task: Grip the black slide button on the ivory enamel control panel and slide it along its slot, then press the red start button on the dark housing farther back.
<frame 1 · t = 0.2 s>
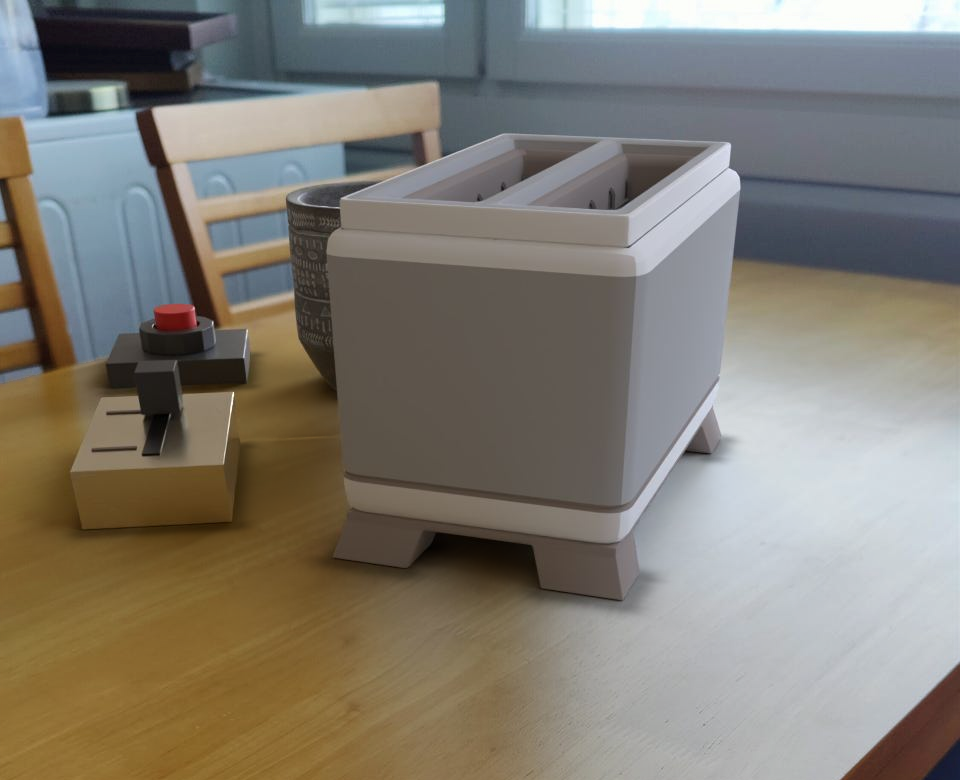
control panel: (167, 483, 89), on the table
button housing: (183, 370, 111), on the table
slider: (159, 387, 88), point 6 cm above the table, slide at 0.0 cm
start button: (175, 318, 109), point 4 cm above the table, slide at 0.1 cm
toaster: (553, 486, 88), on the table
planter: (382, 383, 108), on the table
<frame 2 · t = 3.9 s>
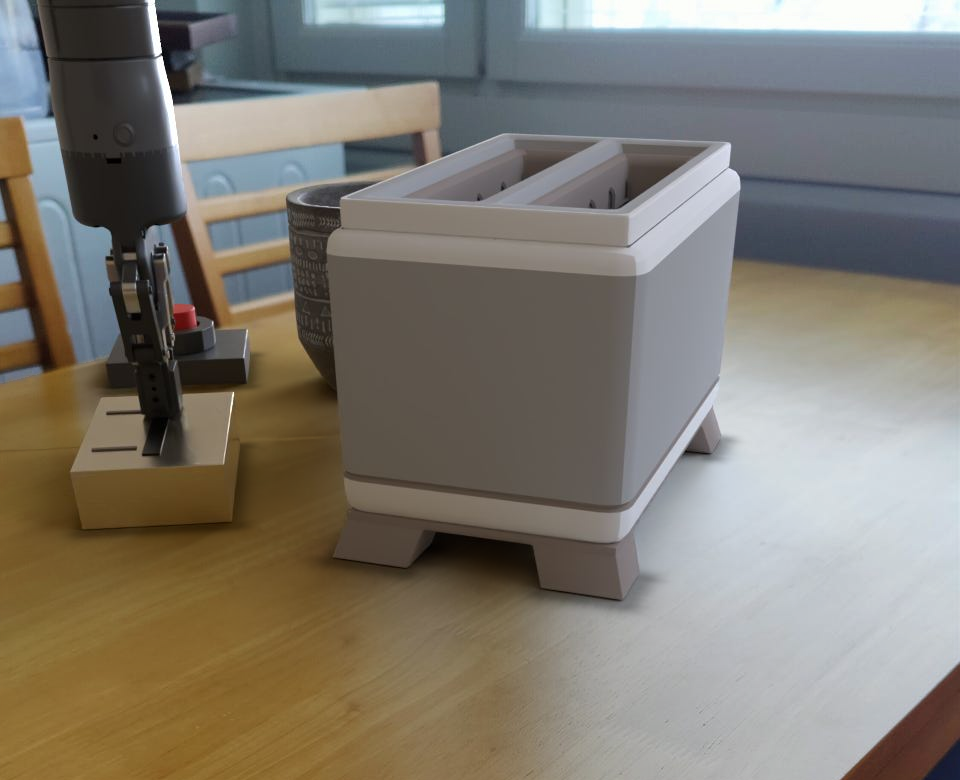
hand: (162, 407, 89), 4 cm above the table, tool pointing down, fingers closed on slider, 3 cm apart
slider: (159, 387, 88), point 6 cm above the table, slide at 0.0 cm, touching gripper
everything else where it was.
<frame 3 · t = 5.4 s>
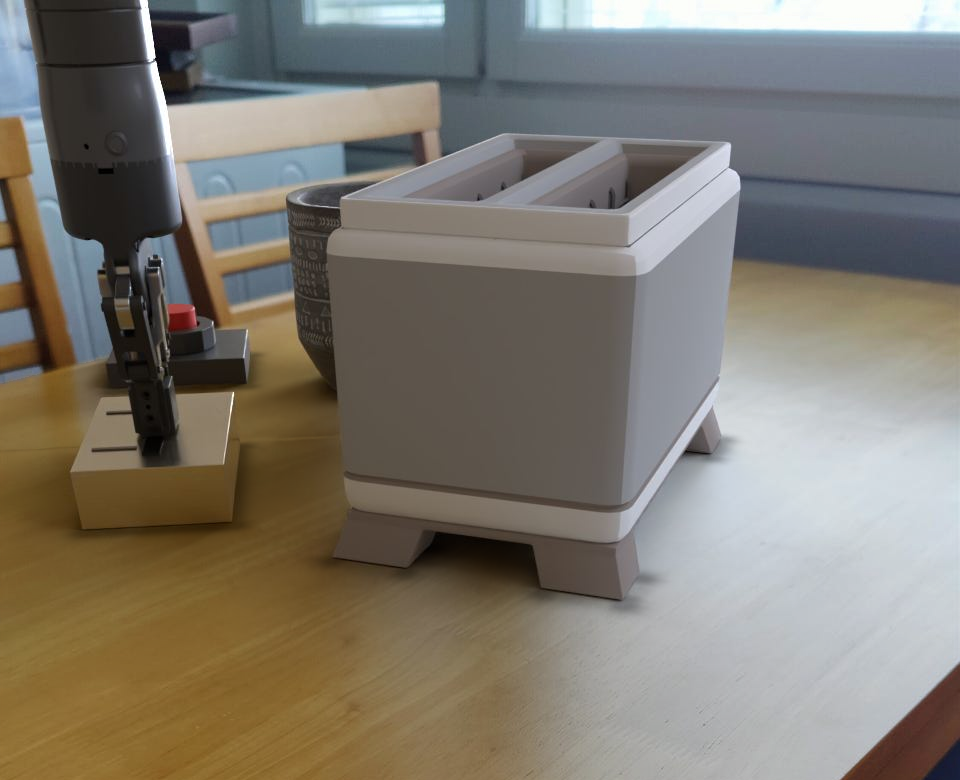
hand: (157, 425, 86), 4 cm above the table, tool pointing down, fingers closed on slider, 3 cm apart
slider: (154, 404, 85), point 6 cm above the table, slide at 4.1 cm, touching gripper
everything else where it was.
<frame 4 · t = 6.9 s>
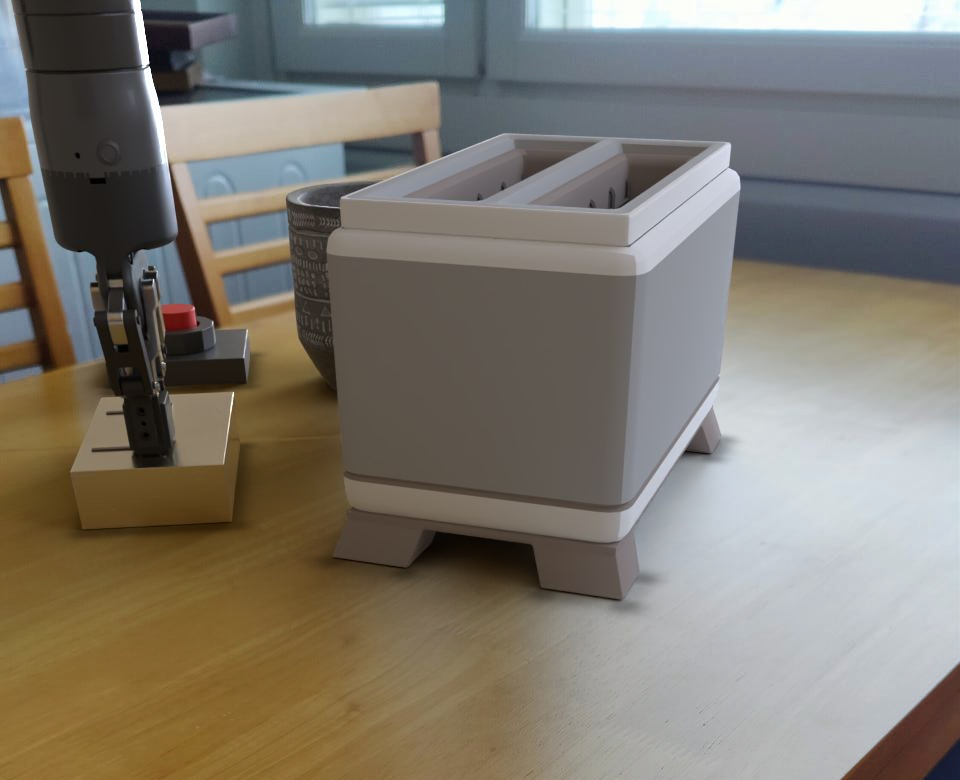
hand: (153, 442, 83), 4 cm above the table, tool pointing down, fingers closed on slider, 3 cm apart
slider: (149, 420, 82), point 6 cm above the table, slide at 7.5 cm, touching gripper
everything else where it was.
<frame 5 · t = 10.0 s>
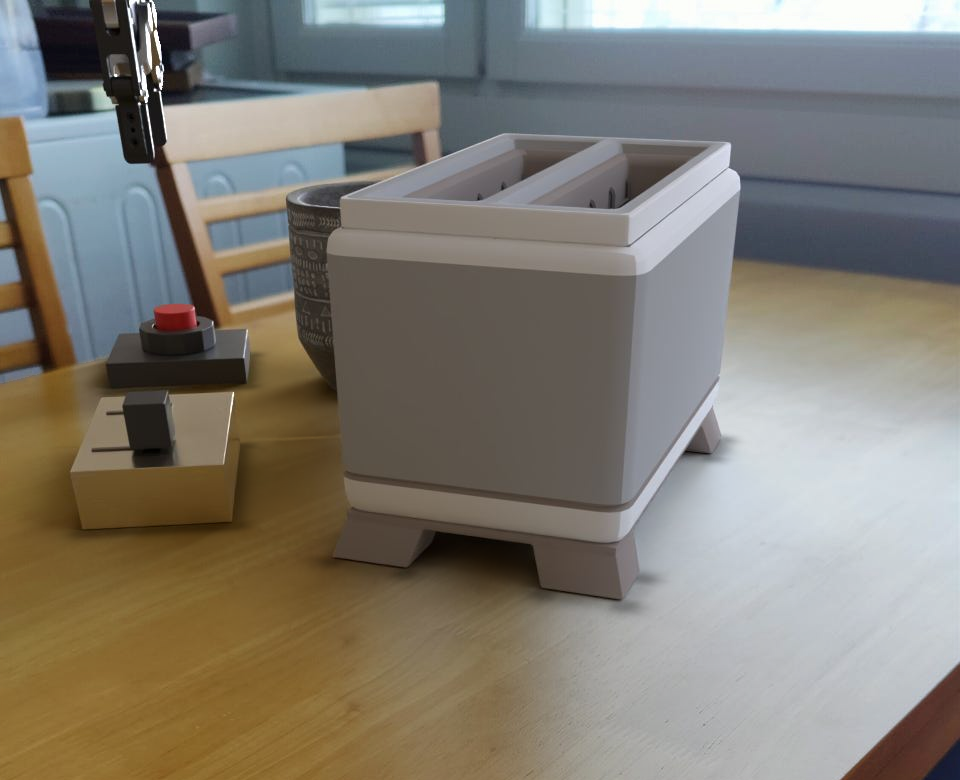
hand: (147, 154, 93), 18 cm above the table, tool pointing down, fingers open, 8 cm apart
slider: (149, 419, 82), point 6 cm above the table, slide at 7.5 cm
everything else where it was.
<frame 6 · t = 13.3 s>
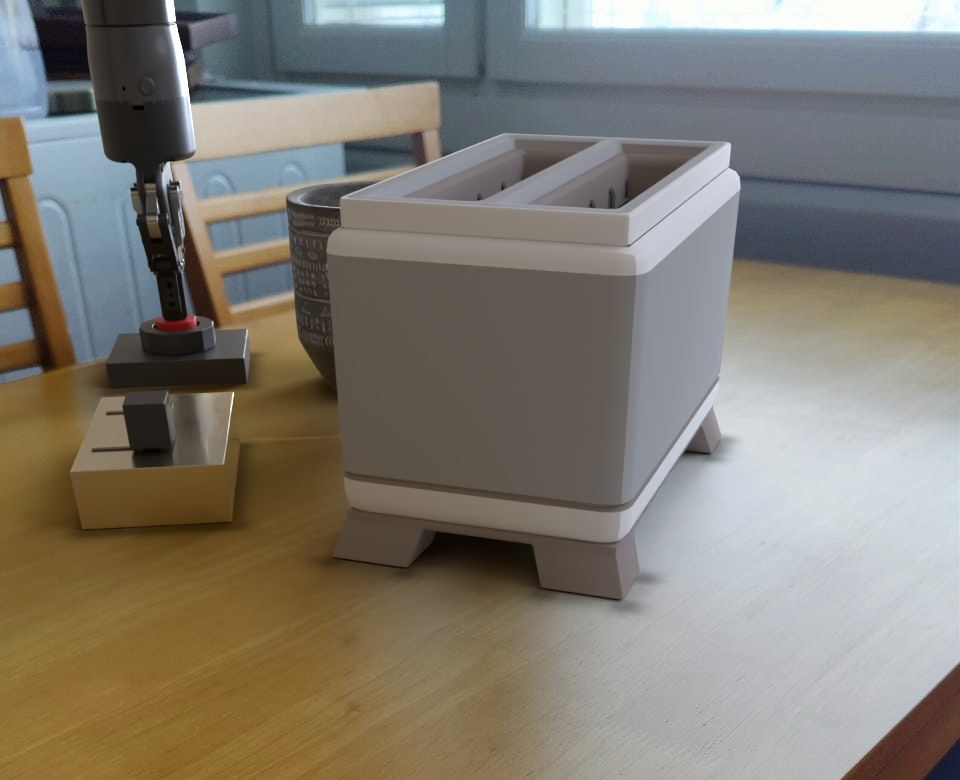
hand: (176, 318, 109), 5 cm above the table, tool pointing down, fingers closed
start button: (176, 328, 109), point 4 cm above the table, slide at -0.7 cm, touching gripper
everything else where it was.
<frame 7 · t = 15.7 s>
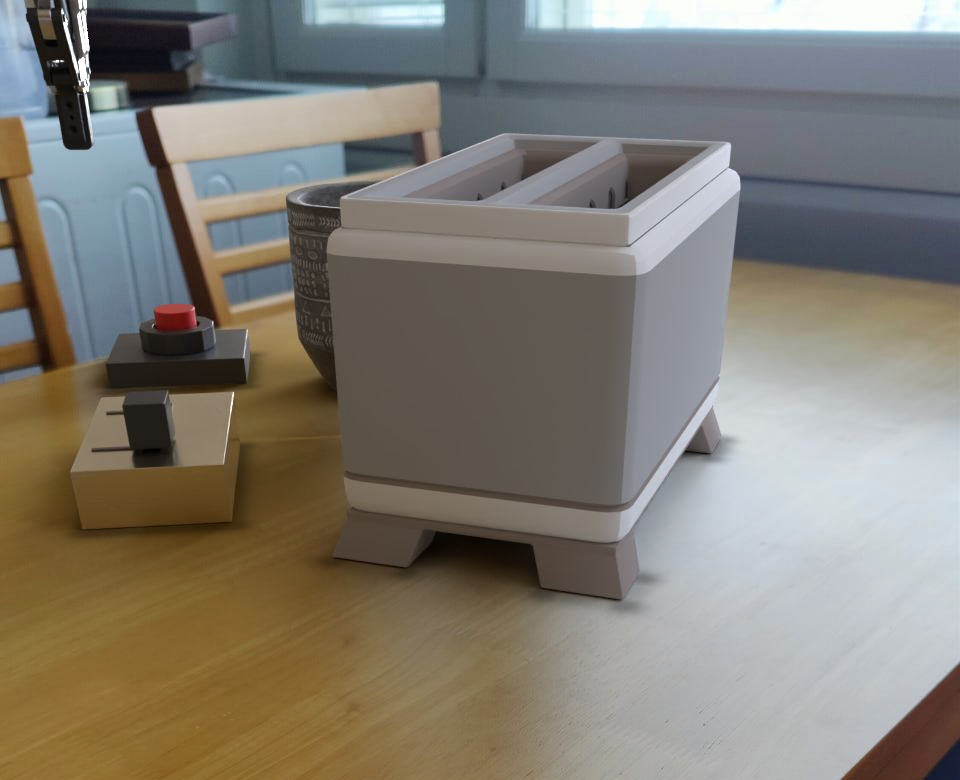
hand: (79, 148, 96), 19 cm above the table, tool pointing down, fingers closed
start button: (175, 318, 109), point 4 cm above the table, slide at 0.1 cm
everything else where it was.
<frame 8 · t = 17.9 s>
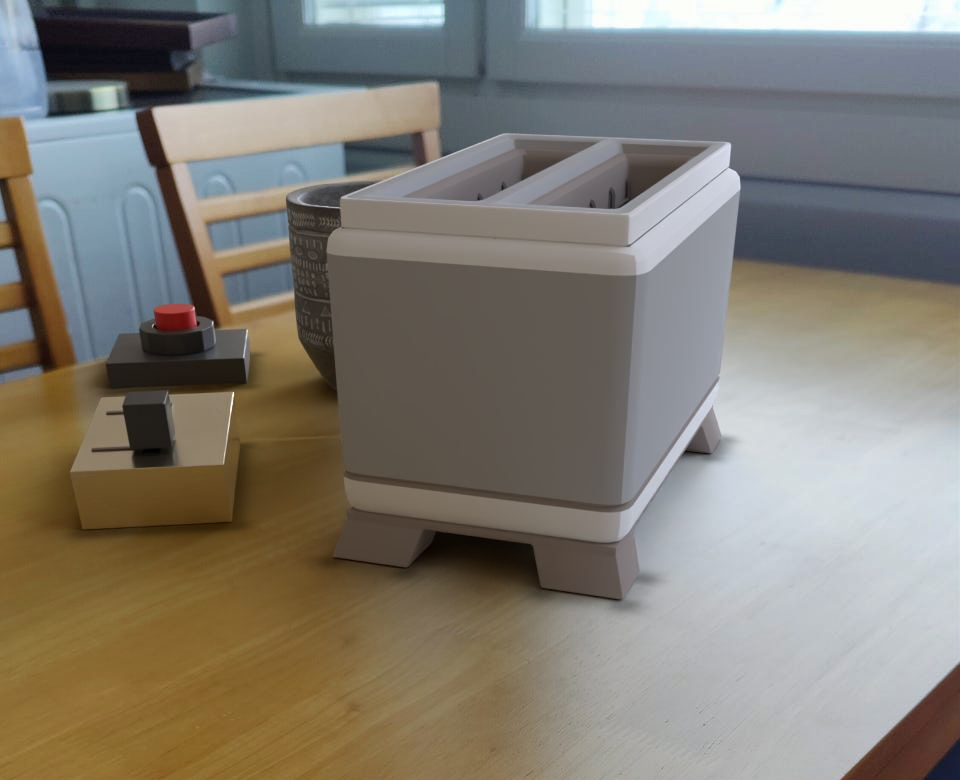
nothing on the table moved.
at the end: slider slide at 7.5 cm; start button pushed in 1.1 cm at the most during the clip, back to where it started at the end; start button slide at 0.1 cm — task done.
